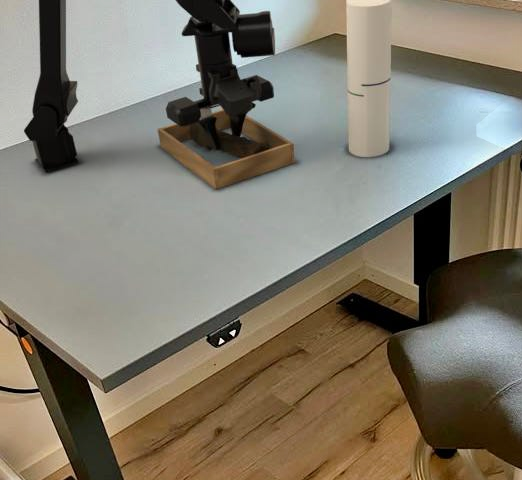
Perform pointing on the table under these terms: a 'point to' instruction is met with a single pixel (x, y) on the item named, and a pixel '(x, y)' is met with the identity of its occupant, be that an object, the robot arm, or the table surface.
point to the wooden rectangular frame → (236, 170)
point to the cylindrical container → (368, 76)
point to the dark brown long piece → (227, 142)
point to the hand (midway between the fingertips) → (226, 146)
